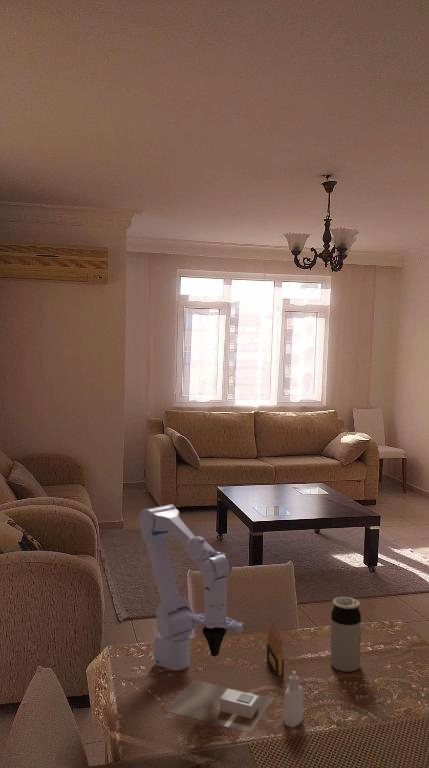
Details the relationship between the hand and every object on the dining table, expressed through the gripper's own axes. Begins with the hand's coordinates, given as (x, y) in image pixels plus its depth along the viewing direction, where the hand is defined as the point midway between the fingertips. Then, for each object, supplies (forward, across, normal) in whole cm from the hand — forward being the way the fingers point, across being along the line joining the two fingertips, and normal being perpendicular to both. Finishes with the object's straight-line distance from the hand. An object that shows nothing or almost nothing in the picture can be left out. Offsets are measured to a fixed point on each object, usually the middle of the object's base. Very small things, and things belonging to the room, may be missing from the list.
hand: (215, 654), depth 169 cm
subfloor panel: (+9, +4, -7) cm, 12 cm away
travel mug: (+10, +27, +27) cm, 39 cm away
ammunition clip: (+10, +10, +17) cm, 22 cm away
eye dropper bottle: (+9, +23, -5) cm, 25 cm away
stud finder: (+8, +10, -7) cm, 15 cm away
